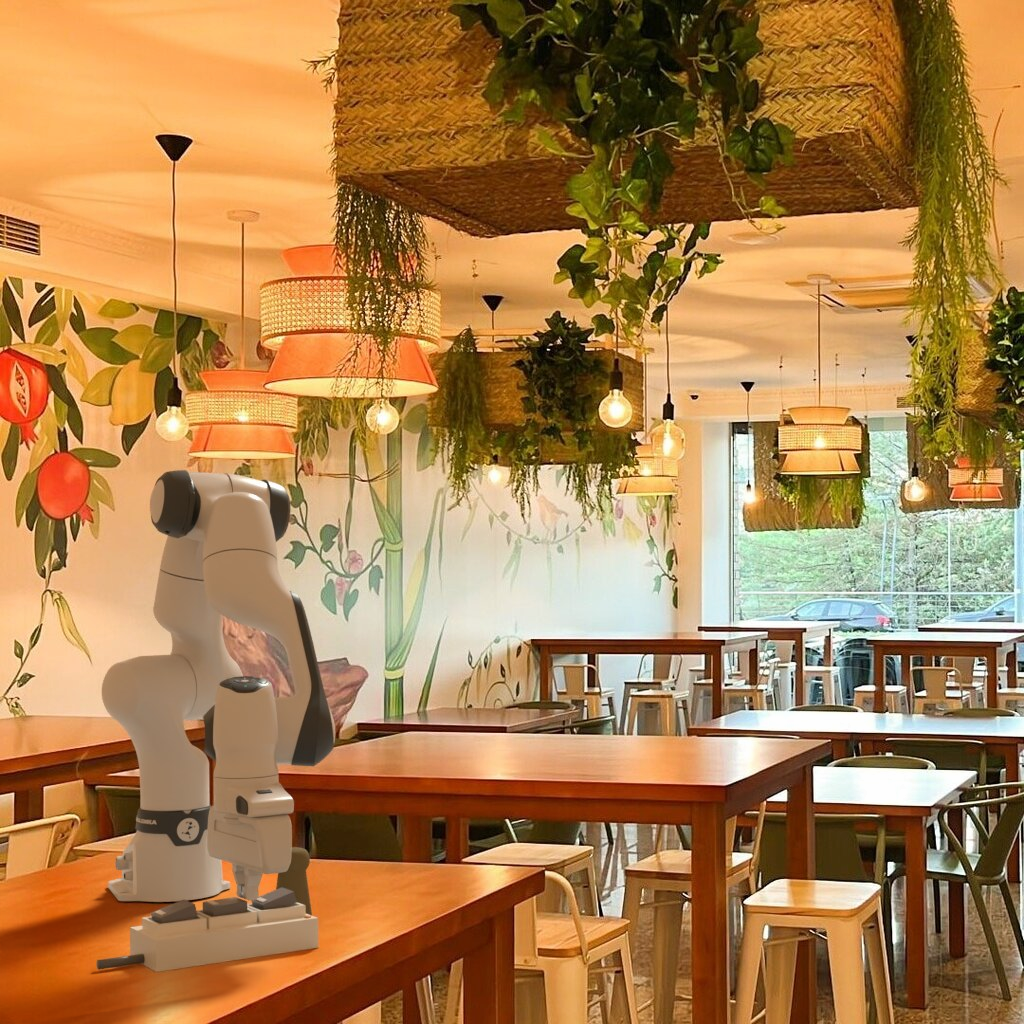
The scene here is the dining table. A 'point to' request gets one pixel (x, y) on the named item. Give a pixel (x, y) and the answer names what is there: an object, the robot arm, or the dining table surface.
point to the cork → (297, 877)
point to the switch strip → (218, 938)
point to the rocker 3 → (275, 899)
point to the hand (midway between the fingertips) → (247, 898)
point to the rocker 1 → (175, 912)
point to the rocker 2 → (224, 907)
